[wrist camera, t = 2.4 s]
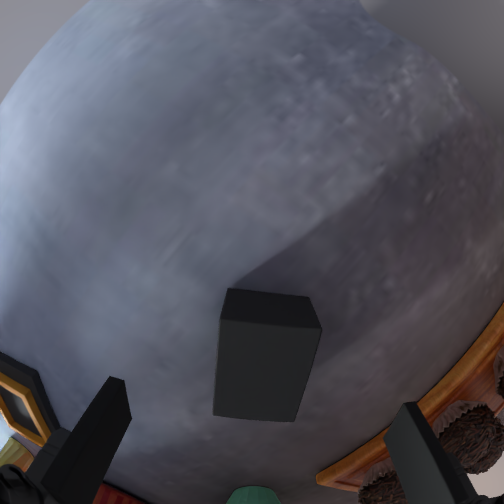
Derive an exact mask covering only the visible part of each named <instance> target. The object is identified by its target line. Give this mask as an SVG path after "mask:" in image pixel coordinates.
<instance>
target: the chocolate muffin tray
mask: <svg viewBox="0 0 504 504" xmlns="http://www.w3.org/2000/svg"><path fill="white" fill-rule="evenodd" d="M417 405H418V406H419V408H420V410H421V411H422V413H423V415H424V416H425V418H426V420H427V421H428V423H429V425H430V426H431V428H432V430H433V432H434V433H435V435H436V437H437V438H438V440H439V442H440V444H441V445H442V447H443V449H444V451H445V453H448V452H451V453H452V454H454V455H455V456H456V457H457V458H458V460H459V462H460V463H461V465H462V466H461V467H463V469H464V470H465V473H469V474H477V475H478V474H479V473H481V472H482V473H484V472H487V471H488V469H490V467H492V466H493V465H494V464H495V463H496V462H497V460H498V459H499V458H500V457H501V456H502V452H503V451H504V426H503V425H502V424H501V421H500V419H498V418H497V417H496V415H497V414H498V413H499V412H500V411H501V410H502V409H503V408H504V303H503V304H502V306H501V307H500V309H499V310H498V312H497V313H496V315H495V316H494V317H493V319H492V320H491V322H490V323H489V324H488V326H487V327H486V328H485V330H484V331H483V332H482V334H481V335H480V336H479V337H478V339H477V340H476V341H475V342H474V344H473V345H472V346H471V347H470V349H469V350H468V351H467V352H466V353H465V354H464V356H463V357H462V358H461V359H460V360H459V361H458V362H457V364H456V365H455V366H454V367H453V368H452V369H451V370H450V371H449V372H448V373H447V374H446V375H445V376H444V377H443V379H442V380H441V381H440V382H439V383H438V384H437V385H436V386H435V387H434V388H433V389H431V390H430V391H429V392H428V393H427V394H426V395H425V396H424V397H423V398H422V399H421V400H420V401H419V402H418V403H417ZM495 417H496V418H495ZM494 418H495V419H494ZM390 426H391V425H390ZM390 426H389V427H390ZM389 427H388V428H386V429H385V430H384V431H382V432H381V433H380V434H378V435H377V436H376V437H374V438H373V439H372V440H370V441H369V442H367V443H366V444H365V445H363V446H362V447H360V448H359V449H357V450H356V451H354V452H353V453H351V454H350V455H348V456H346V457H345V458H343V459H342V460H340V461H338V462H337V463H335V464H333V465H332V466H330V467H328V468H327V469H325V470H323V471H321V472H320V473H318V474H316V481H317V483H318V484H320V485H324V486H328V487H333V488H337V489H342V490H348V491H353V492H358V493H357V494H358V497H359V501H358V502H360V503H361V504H408V501H407V499H406V496H405V493H404V491H403V488H402V485H401V483H400V480H399V477H398V475H397V472H396V470H395V467H394V465H393V462H392V460H391V457H390V455H389V452H388V450H387V447H386V445H385V442H384V440H383V437H384V435H385V434H386V432H387V430H388V429H389Z"/></svg>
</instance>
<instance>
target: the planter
mask: <svg viewBox="0 0 504 504" xmlns="http://www.w3.org/2000/svg"><path fill="white" fill-rule="evenodd" d="M92 504H147V503H145V502H143V501H141V500H139V499H137V498H136V497H134V496H132V495H130V494H128V493H126V492H124V491H122V490H119V489H117V488H115V487H113V486H111V485H109V484H107V483H104V482H102V483H101V485H100V488H99V490H98V492H97V494H96V496H95V499H94V501H93V503H92Z"/></svg>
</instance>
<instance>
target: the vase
mask: <svg viewBox="0 0 504 504" xmlns="http://www.w3.org/2000/svg"><path fill="white" fill-rule="evenodd" d="M33 460H34V457H33V456H32V454H31V453H30V452H29V451H28V450H27V449H26V448H25V447H24V446H23V445H22V444H20V443H19V442H18V441H16V440H15V439H13V438H11V437H10V438H9V440H8V441H7V443H6V444H5V446H4V447H3V449H2V451H1V452H0V467H1V466H3V465H5V464H14V465H16V466H18V467H20V468H21V470H22V471H23V472H24V473H25V472H26V470H27V469H28V467H29V466H30V464H31V463H32V461H33Z"/></svg>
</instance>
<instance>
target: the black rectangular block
mask: <svg viewBox="0 0 504 504" xmlns="http://www.w3.org/2000/svg"><path fill="white" fill-rule="evenodd" d="M321 332H322V327H321V324H320V322H319V319H318V317H317V315H316V312H315V310H314V308H313V305H312V303H311V301H310V298H309V297H302V296H292V295H283V294H274V293H265V292H257V291H248V290H240V289H232V288H228V289H227V293H226V296H225V300H224V304H223V308H222V311H221V315H220V320H219V331H218V344H217V356H216V369H215V383H214V398H213V413H212V414H213V415H214V416H221V417H228V418H237V419H247V420H259V421H274V422H294V421H295V418H296V415H297V412H298V409H299V406H300V403H301V400H302V397H303V394H304V391H305V388H306V384H307V381H308V378H309V375H310V371H311V368H312V365H313V361H314V358H315V354H316V351H317V347H318V344H319V340H320V336H321Z"/></svg>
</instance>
